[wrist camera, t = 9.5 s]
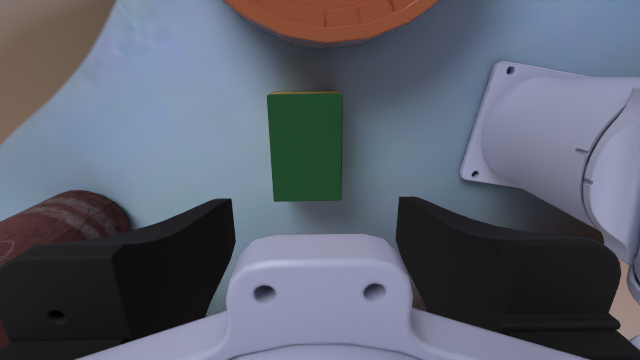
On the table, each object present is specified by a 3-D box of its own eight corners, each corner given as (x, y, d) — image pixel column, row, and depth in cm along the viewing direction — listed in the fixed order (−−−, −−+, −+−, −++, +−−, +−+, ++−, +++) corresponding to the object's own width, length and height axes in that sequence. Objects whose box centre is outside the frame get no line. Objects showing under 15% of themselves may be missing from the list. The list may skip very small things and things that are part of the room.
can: (29, 201, 22) (-381, 386, 9) (110, 177, 22) (-199, 335, 9) (74, 270, 24) (-212, 505, 11) (149, 249, 24) (-55, 467, 11)
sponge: (273, 91, 20) (266, 95, 17) (337, 90, 20) (342, 93, 17) (279, 183, 22) (273, 202, 19) (337, 182, 22) (341, 200, 19)
